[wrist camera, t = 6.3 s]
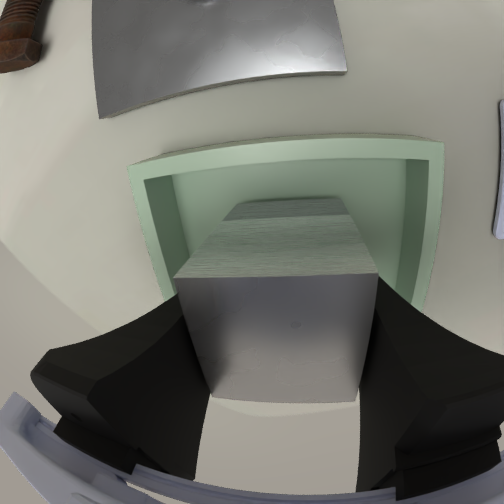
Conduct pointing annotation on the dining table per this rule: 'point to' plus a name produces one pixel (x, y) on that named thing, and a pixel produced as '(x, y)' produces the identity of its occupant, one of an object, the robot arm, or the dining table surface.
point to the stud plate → (206, 46)
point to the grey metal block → (281, 302)
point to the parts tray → (299, 196)
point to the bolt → (18, 35)
